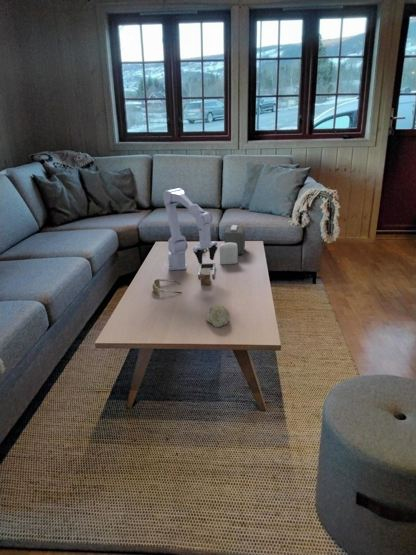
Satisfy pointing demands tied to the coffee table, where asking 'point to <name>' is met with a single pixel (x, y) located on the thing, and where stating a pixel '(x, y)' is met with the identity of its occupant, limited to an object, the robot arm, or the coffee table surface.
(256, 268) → the coffee table surface
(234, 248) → the photo printer
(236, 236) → the alarm clock
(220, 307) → the decorative item
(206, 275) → the walnut block
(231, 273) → the coffee table surface
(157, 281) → the sunglasses
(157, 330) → the coffee table surface
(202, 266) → the channel
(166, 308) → the coffee table surface
